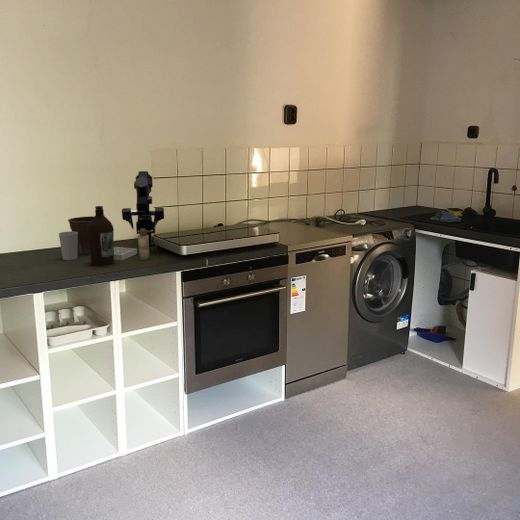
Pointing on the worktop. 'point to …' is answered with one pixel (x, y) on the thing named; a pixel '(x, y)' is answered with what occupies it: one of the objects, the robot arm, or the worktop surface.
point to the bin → (124, 253)
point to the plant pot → (81, 232)
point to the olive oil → (101, 239)
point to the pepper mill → (143, 245)
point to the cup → (69, 245)
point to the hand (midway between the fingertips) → (143, 228)
